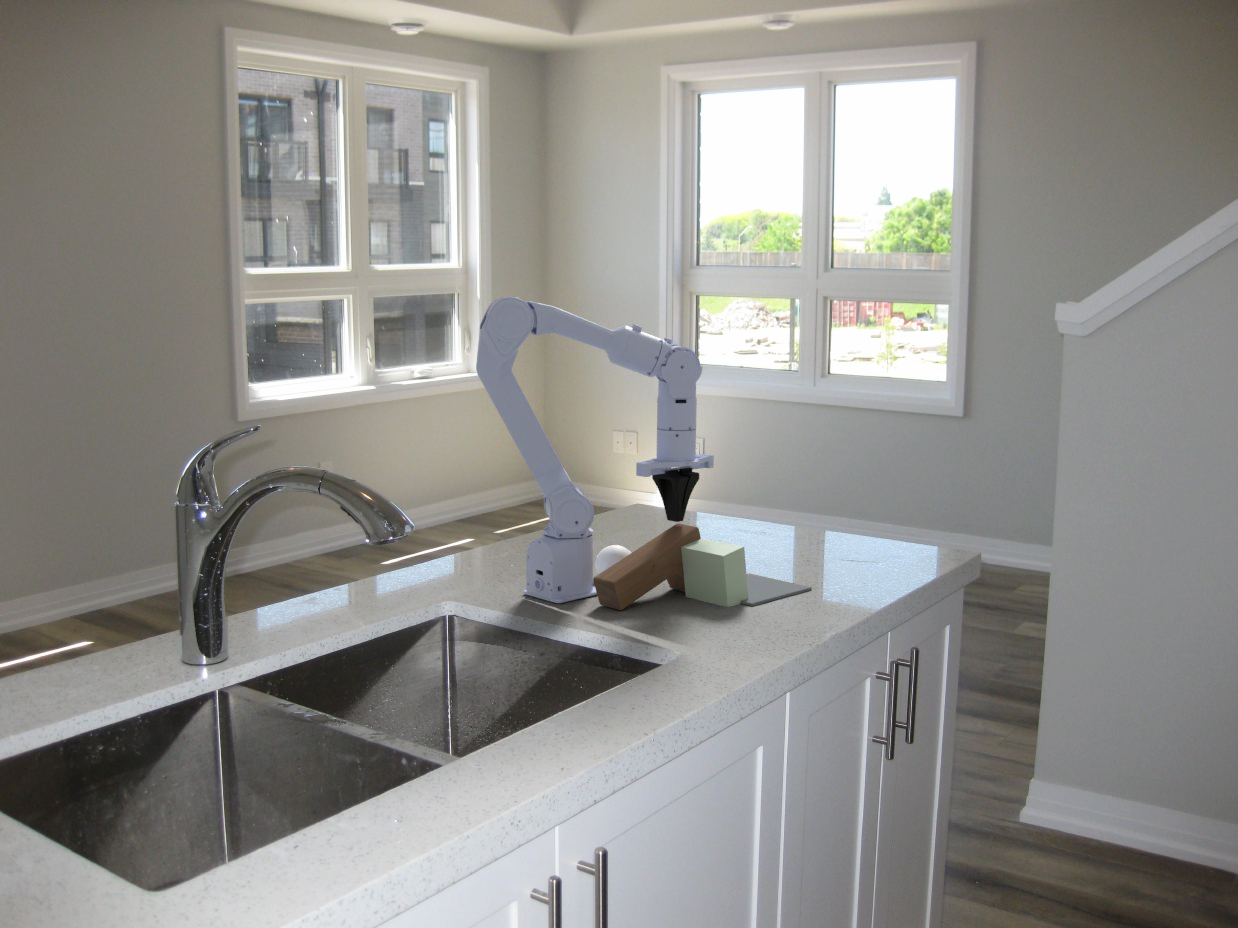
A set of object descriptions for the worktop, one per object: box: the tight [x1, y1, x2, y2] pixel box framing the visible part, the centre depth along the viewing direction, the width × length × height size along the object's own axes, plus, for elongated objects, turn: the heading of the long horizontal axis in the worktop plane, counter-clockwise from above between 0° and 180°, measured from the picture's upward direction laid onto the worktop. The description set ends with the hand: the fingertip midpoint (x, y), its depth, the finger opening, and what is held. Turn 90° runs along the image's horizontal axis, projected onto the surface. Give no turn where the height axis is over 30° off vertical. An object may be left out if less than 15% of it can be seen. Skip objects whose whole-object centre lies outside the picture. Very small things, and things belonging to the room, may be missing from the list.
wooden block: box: [593, 523, 702, 611], centre depth 165 cm, size 9×4×18 cm
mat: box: [740, 573, 813, 607], centre depth 171 cm, size 14×12×1 cm
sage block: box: [681, 537, 748, 608], centre depth 165 cm, size 4×8×8 cm, turn 44°
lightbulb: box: [594, 544, 632, 576], centre depth 177 cm, size 6×6×11 cm
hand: (675, 520), depth 170 cm, fingers closed
